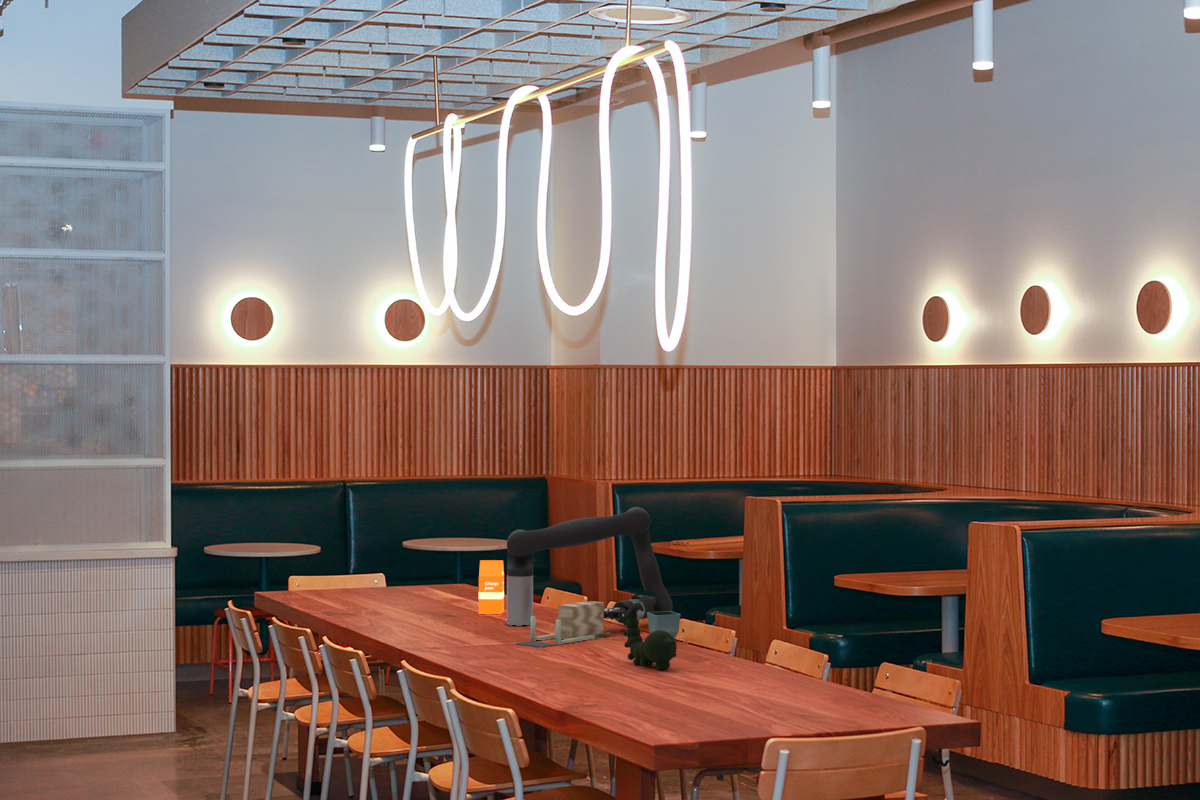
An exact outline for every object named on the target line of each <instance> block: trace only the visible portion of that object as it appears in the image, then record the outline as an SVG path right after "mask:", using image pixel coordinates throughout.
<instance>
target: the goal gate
mask: <svg viewBox="0 0 1200 800" xmlns="http://www.w3.org/2000/svg"><path fill="white" fill-rule="evenodd" d="M536 621H537V617H536V616H535V615H533V616H531V625H530V641H536V640H542V641H546V640H545V639H548V640H551V639H550V638H554V639H555V644H557V645H556V646H560V645H559V644H561V645H562V644H564V643H569V642H574V641H581V640H587V639H593V638H595V635H588V636H582V637H576V638H570V639H565V640H561V620H560V619H558V618H557V619H555V633H551V634H544V635H537V636H536V633H537V631H536V626H537V625H536ZM555 637H556V638H555ZM593 640H594V639H593ZM587 641H588V640H587ZM536 642H537V641H536ZM581 642H582V641H581ZM564 645H565V644H564Z"/></svg>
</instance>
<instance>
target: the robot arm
mask: <svg viewBox="0 0 1200 800" xmlns="http://www.w3.org/2000/svg"><path fill="white" fill-rule="evenodd" d="M651 521H652V520H651V517H650V514H649V513H648V511H647V510H645V509H644V508H643V507H640V506H633V507H630V508H629V509H628V510H626V511H625V512H621V513H619V514H618V513H617V514H614V515H610V516H589V517H587V516H586V517H580V518H576V519H570V520H567V521H563V522H560V523H556V524H554V525H552V526H548V527H546V528H540V529H533V530H525V529H516V530H514V531H513V532H511V533H510V534H509V536H508V537H507V540H506V548H507V549H506V551H507V554H506V556H507V557H506V558H507V561H506V625H507V624H508V625H507V626H512V625H516V626H517V627H523V626H522V625H527V626H531V616H534V554H535V553H539V552H542V551H545V550H551V549H552V550H553V549H562V548H571V547H576V546H582V545H586V544H592V543H595V542H599V541H602V540H607V539H609V538H610V539H611V538H615V537H621V536H630V538H631V541H632V543H633V548H634V551H635V555H636V556H635V557H636V561H637V566H638V567H637V568H638V571H639V576H640V580H641V584H642V587H643V590H644V591H645V592H649V593H652V594H653V596H651V597H644V598H636V599H625V600H619V601H617V602H615V603H614V605H613V606H610V607H607V608H606V607H605V608H604V620H605V619H606V620H615V621H616V622H617V623H619V624H623V622H624V621H626V620H627V618H626V617H625V616H624V613H626V612H627V611H628V610H630V609H631V606H632V605H633V604H634V603H641V604H642V606H643V608H644V611H643V612H642V611H641V610H639V611H638V612H637V619H638V621H640V620H645V619H648V617H647V612H665V611H672V612H673V601H672V598H671V596H670V594H669V592H668V590H667V588H666V587H665V585H664V583H663V580H662V576H661V573H660V567H659V564H658V560H657V558H656V555H655V553H654V552H655V551H654V549H653V545H652V542H651V536H650V535H651V534H650V526H651V523H652V522H651ZM516 626H515V627H516Z"/></svg>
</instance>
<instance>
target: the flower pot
mask: <svg viewBox="0 0 1200 800" xmlns="http://www.w3.org/2000/svg"><path fill="white" fill-rule="evenodd" d="M647 617H648V618H647V625H648V629H649V632H650V633H652V632H654V631H657V630H663V631H666V632H668V633H670V634H671V635H672V636H673V638H674V639H675V640H676V638H677V635H678V632H679V629H680V623H681V613H678V612H675V611H673V610H672V611H665V612H647Z"/></svg>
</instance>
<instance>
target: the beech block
mask: <svg viewBox="0 0 1200 800" xmlns="http://www.w3.org/2000/svg"><path fill="white" fill-rule="evenodd" d="M557 608H558V610H557V613H558V614H557V615H558V616H557V617H558V618H557V619H560V620H561V639H570V638H576V637H582V636H588V635H594V634H600V633H604V620H605V618H604V610H605V608H604V602H603V601H602V602H601V601H594V600H593V601H592V600H588V601H581V602H574V603H573V602H572V603H565V604H560V605H558V607H557Z"/></svg>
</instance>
